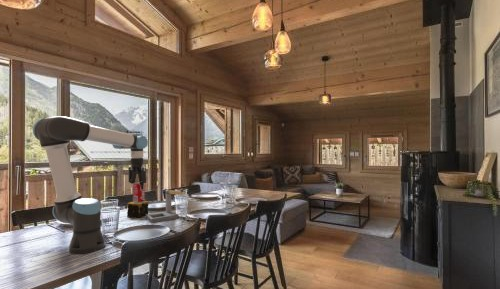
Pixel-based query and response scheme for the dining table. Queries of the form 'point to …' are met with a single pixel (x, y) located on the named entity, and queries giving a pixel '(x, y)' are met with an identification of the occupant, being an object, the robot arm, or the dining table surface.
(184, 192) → the clip
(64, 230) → the dining table surface
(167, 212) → the gray post stand
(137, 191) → the soda can
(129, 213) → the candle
